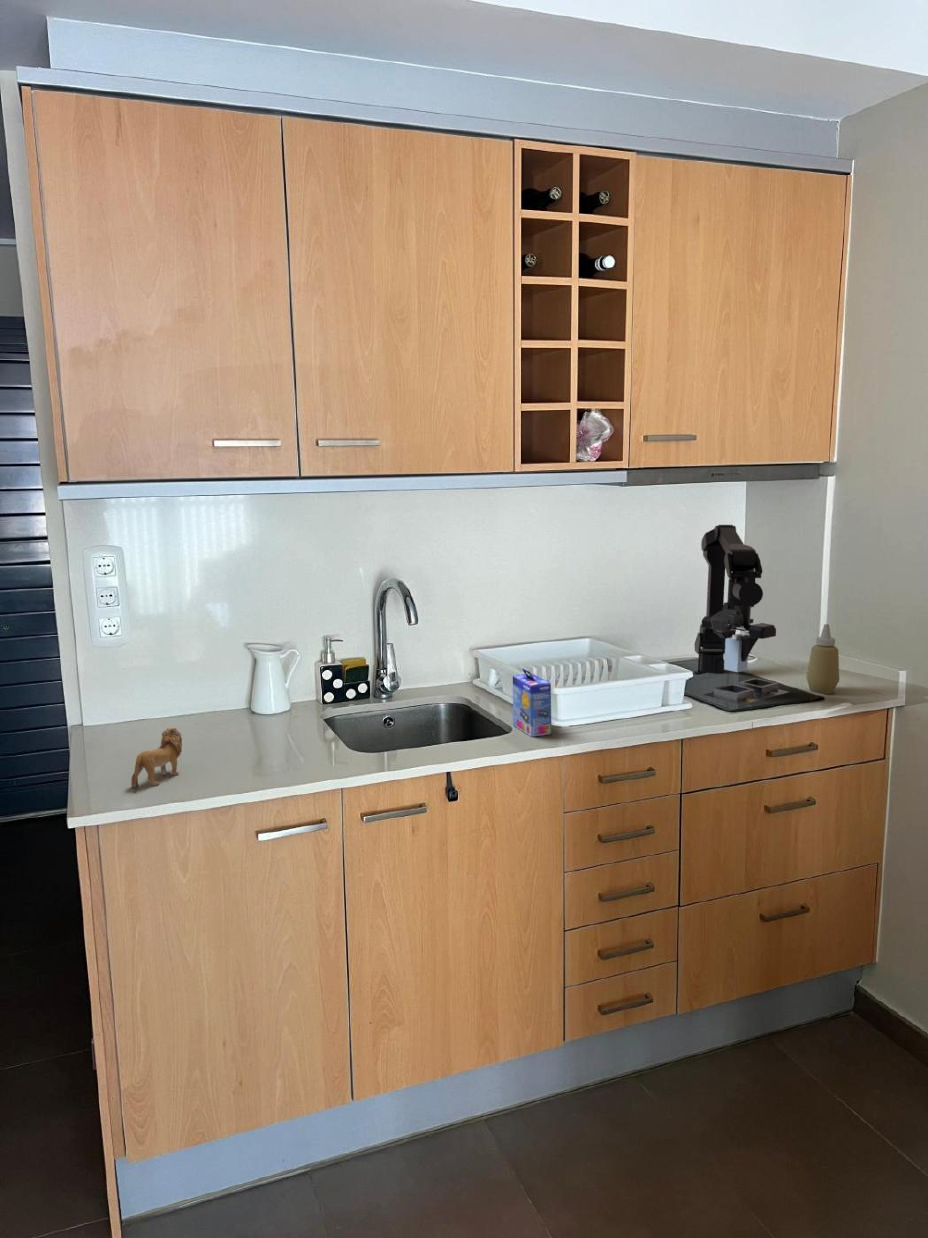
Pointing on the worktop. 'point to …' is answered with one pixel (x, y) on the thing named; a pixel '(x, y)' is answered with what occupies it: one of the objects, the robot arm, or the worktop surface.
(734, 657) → the plug
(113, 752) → the worktop surface
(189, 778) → the worktop surface
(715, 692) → the panel
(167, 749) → the lion figurine
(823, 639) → the squeeze bottle
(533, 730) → the ink cartridge box
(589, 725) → the worktop surface
